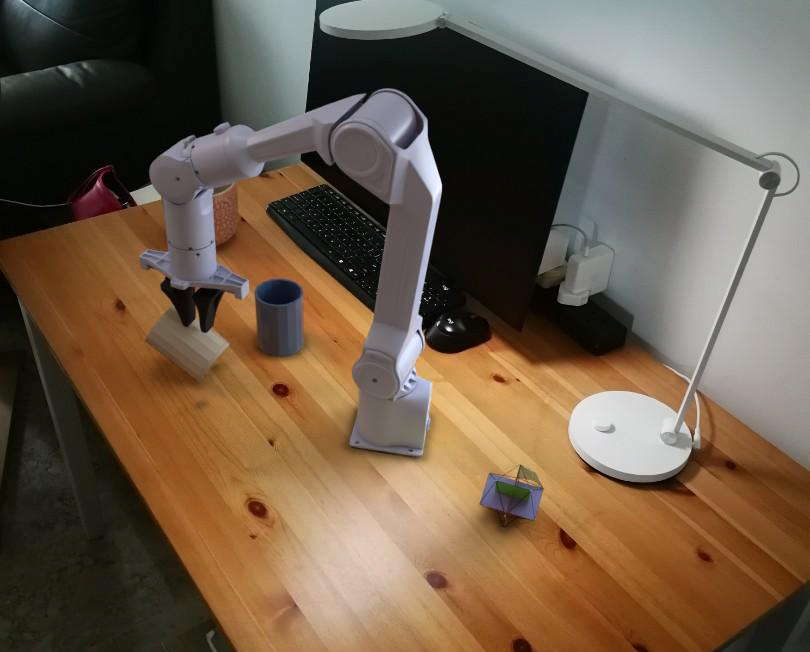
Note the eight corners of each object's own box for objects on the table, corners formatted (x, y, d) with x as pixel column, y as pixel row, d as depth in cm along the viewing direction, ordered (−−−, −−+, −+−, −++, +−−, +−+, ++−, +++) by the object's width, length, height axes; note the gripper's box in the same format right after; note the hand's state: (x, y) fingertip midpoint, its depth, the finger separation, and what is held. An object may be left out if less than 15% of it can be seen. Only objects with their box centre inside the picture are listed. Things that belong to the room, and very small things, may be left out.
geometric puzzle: (529, 543, 96) (547, 476, 96) (471, 525, 98) (488, 459, 97) (533, 530, 103) (550, 468, 103) (479, 514, 105) (495, 452, 104)
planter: (256, 234, 146) (252, 177, 139) (206, 265, 138) (200, 206, 131) (202, 211, 151) (196, 154, 144) (151, 240, 143) (142, 181, 136)
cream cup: (236, 336, 117) (183, 295, 116) (216, 358, 111) (160, 315, 110) (213, 367, 120) (162, 327, 119) (192, 390, 115) (138, 348, 113)
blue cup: (308, 332, 127) (307, 282, 121) (297, 359, 122) (296, 309, 116) (264, 325, 127) (262, 275, 121) (252, 353, 122) (248, 302, 116)
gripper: (120, 237, 102) (133, 326, 111) (227, 270, 99) (232, 358, 108) (153, 211, 107) (163, 298, 116) (256, 241, 104) (258, 328, 113)
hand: (198, 325), depth 112 cm, fingers closed
